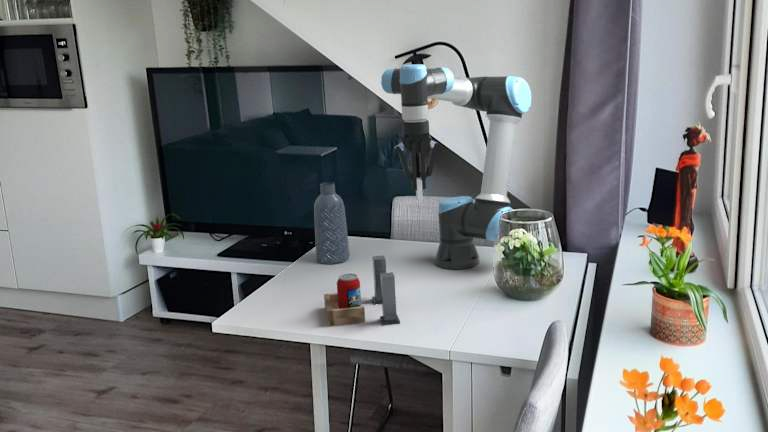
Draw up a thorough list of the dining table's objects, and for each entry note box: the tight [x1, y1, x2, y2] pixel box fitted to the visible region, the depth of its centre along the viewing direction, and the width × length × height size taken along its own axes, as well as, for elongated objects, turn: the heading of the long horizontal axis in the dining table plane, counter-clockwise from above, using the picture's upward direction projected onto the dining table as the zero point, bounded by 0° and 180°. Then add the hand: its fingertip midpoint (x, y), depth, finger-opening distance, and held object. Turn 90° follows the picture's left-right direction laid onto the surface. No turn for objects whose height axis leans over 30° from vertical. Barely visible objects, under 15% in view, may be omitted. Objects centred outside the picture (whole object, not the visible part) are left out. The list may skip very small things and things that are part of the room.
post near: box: [379, 272, 401, 326], centre depth 216 cm, size 5×5×14 cm
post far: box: [372, 255, 387, 305], centre depth 232 cm, size 5×5×14 cm
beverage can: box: [336, 273, 362, 309], centre depth 223 cm, size 7×7×12 cm
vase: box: [313, 181, 350, 265], centre depth 274 cm, size 12×12×28 cm
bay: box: [323, 292, 366, 327], centre depth 224 cm, size 10×14×4 cm
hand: (419, 200), depth 223 cm, fingers closed
